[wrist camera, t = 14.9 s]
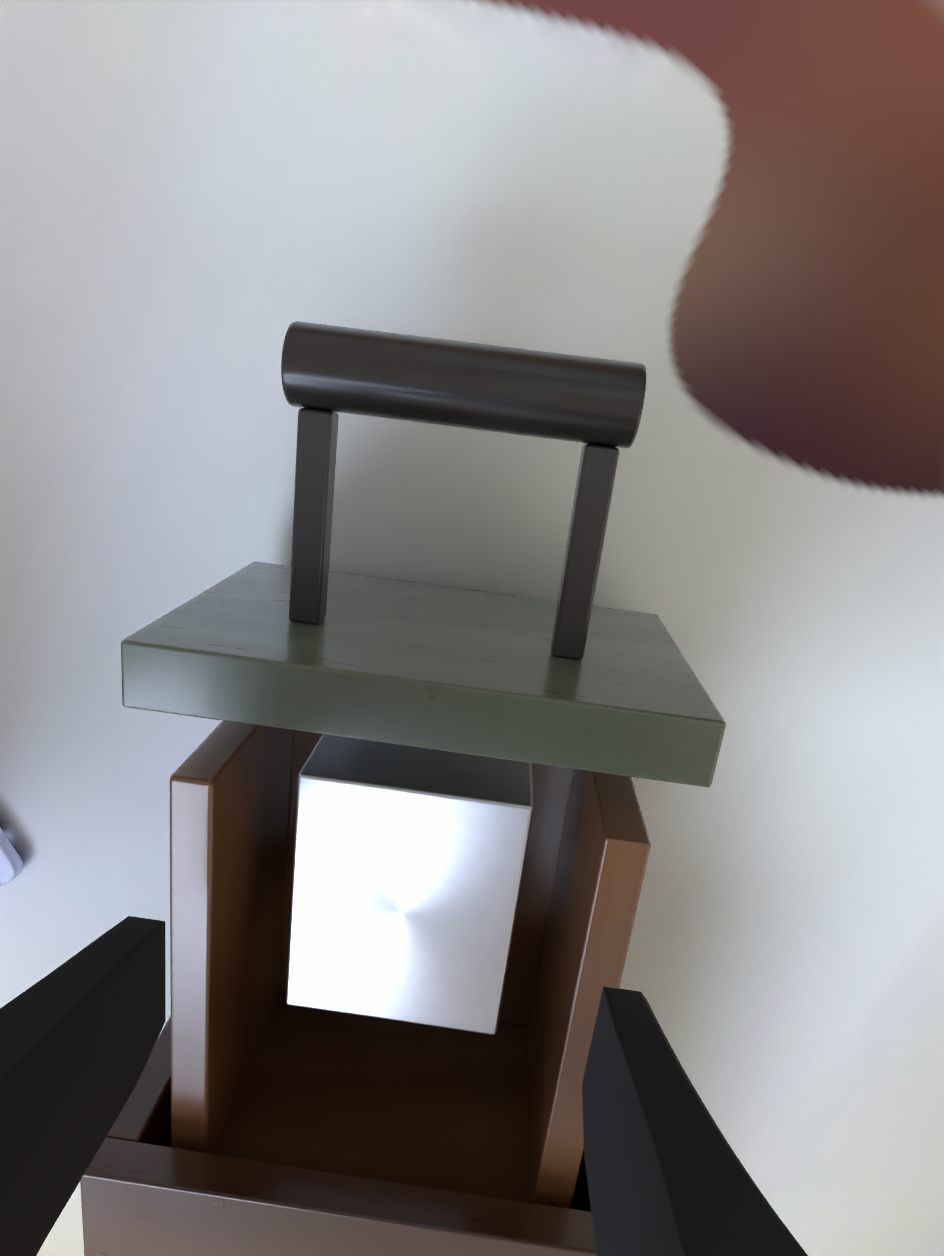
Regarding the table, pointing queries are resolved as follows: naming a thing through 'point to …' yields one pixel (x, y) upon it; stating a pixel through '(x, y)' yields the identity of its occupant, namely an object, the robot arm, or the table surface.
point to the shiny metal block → (406, 882)
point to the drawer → (427, 718)
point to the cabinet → (290, 1201)
